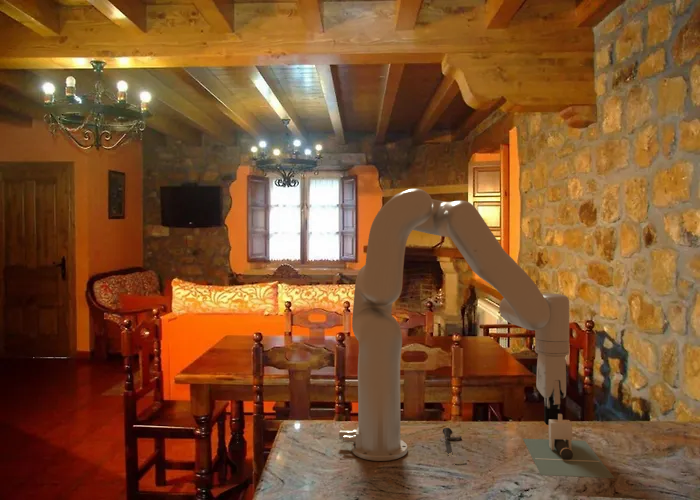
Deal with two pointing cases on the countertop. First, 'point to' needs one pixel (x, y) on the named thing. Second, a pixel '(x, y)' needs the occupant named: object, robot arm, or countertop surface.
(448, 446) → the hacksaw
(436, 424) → the countertop surface
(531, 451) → the cutting mat
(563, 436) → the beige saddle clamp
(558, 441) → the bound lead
